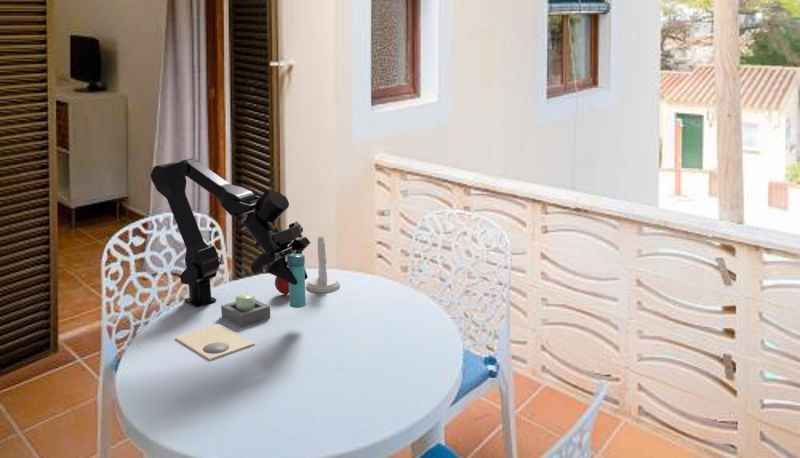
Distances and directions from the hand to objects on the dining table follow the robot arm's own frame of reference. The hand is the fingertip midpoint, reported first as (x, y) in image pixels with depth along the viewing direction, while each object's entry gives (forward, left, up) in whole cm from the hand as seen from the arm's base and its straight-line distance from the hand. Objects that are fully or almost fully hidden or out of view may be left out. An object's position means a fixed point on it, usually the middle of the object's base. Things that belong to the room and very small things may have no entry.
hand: (301, 281), depth 176 cm
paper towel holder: (-18, +22, -12) cm, 31 cm away
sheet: (-6, -21, -12) cm, 25 cm away
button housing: (-14, -7, -12) cm, 20 cm away
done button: (-14, -7, -10) cm, 19 cm away
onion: (-20, +10, -12) cm, 26 cm away
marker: (-1, 0, -7) cm, 7 cm away
